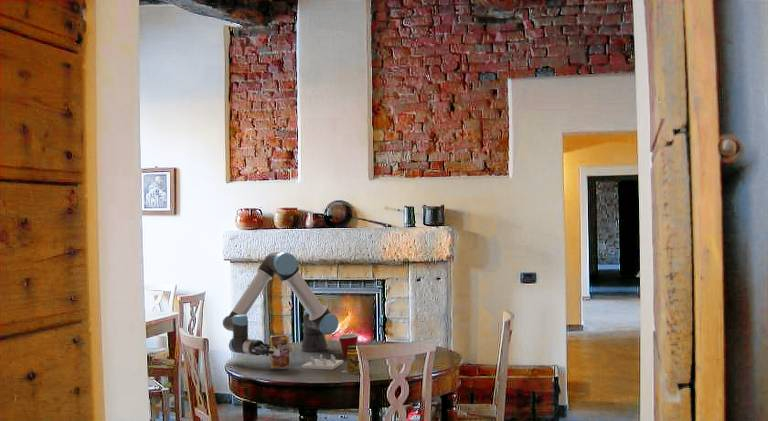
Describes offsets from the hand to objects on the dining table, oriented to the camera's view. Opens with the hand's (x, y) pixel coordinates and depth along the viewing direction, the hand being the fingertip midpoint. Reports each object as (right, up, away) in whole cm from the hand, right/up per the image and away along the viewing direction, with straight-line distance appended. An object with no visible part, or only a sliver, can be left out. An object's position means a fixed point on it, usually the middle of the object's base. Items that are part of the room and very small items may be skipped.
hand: (286, 351), depth 312 cm
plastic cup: (+28, -10, +30) cm, 43 cm away
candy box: (-3, -8, +2) cm, 9 cm away
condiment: (+32, -9, -4) cm, 34 cm away
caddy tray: (+17, -9, +10) cm, 22 cm away
